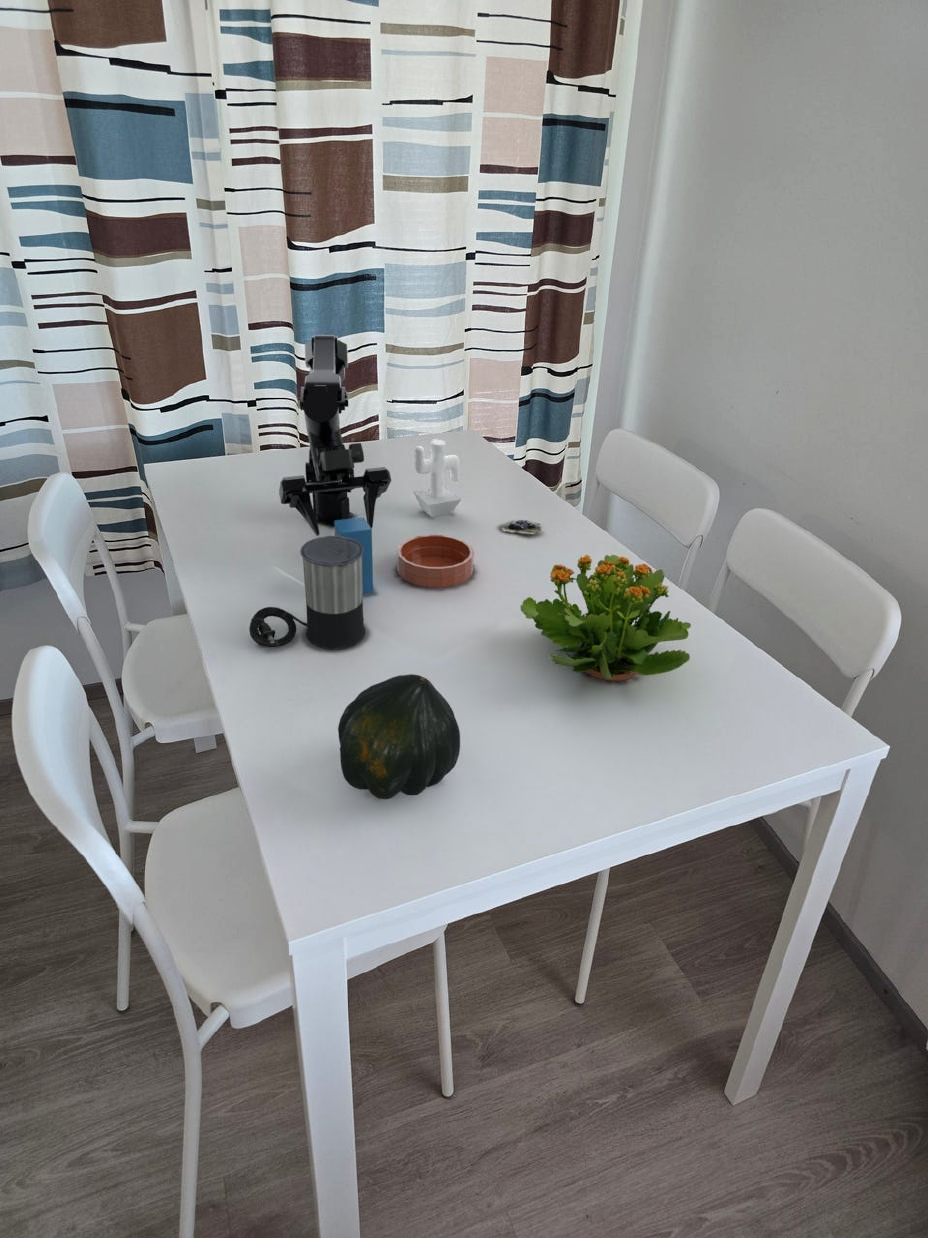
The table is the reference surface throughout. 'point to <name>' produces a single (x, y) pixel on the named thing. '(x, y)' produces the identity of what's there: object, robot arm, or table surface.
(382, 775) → the squash
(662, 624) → the potted flower
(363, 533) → the blue rectangular block
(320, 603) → the milk frother
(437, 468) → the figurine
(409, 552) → the terracotta bowl
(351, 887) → the table surface
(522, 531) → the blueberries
